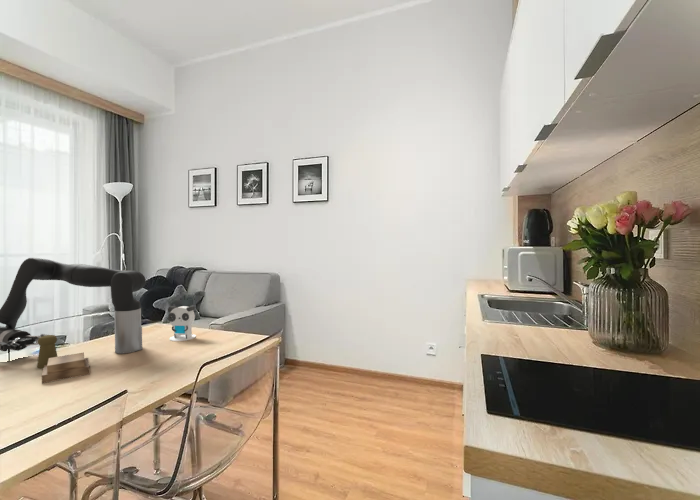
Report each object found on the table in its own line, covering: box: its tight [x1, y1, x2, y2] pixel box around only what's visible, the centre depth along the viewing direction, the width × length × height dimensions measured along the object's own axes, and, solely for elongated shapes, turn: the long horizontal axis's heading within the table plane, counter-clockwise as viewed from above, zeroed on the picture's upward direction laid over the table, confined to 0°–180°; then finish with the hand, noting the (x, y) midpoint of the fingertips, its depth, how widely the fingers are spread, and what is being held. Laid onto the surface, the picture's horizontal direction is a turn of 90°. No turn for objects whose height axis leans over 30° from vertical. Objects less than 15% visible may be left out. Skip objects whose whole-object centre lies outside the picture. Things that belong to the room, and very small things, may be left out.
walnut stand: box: [41, 352, 90, 384], centre depth 116 cm, size 12×12×5 cm
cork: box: [36, 334, 59, 370], centre depth 123 cm, size 6×6×11 cm
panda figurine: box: [167, 305, 197, 342], centre depth 159 cm, size 12×11×15 cm
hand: (34, 344), depth 127 cm, fingers open, 8 cm apart
